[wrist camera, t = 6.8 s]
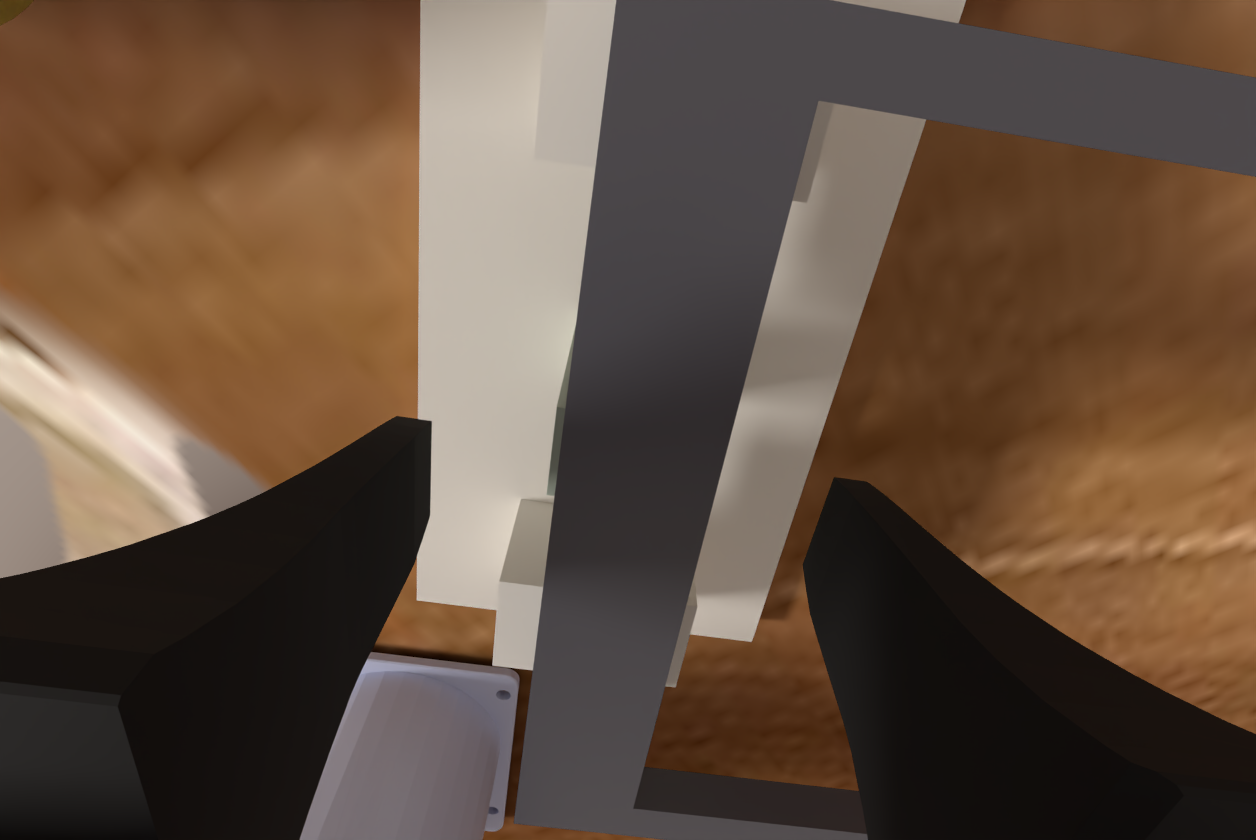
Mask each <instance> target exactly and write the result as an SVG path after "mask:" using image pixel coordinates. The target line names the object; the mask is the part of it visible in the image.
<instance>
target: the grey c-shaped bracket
mask: <svg viewBox="0 0 1256 840" xmlns="http://www.w3.org/2000/svg"><path fill="white" fill-rule="evenodd" d="M818 101H823V102H829V103H835V104H840V105H846V106H852V107H858V108H863V109H869V110H875V111H881V112H886V113H892V114H898V115H904V116H909V117H915V118H921V119H927V120H932V121H938V122H944V123H950V124H955V125H961V126H967V127H973V128H979V129H984V130H990V131H996V132H1002V133H1007V134H1013V135H1019V136H1025V137H1030V138H1036V139H1042V140H1048V141H1053V142H1059V143H1065V144H1071V145H1076V146H1082V147H1088V148H1094V149H1099V150H1105V151H1111V152H1117V153H1122V154H1128V155H1134V156H1140V157H1145V158H1151V159H1157V160H1163V161H1168V162H1174V163H1180V164H1186V165H1191V166H1197V167H1203V168H1209V169H1214V170H1220V171H1226V172H1232V173H1238V174H1243V175H1249V176H1255V177H1256V78H1254V77H1249V76H1243V75H1238V74H1233V73H1227V72H1222V71H1216V70H1211V69H1205V68H1200V67H1194V66H1189V65H1183V64H1178V63H1172V62H1167V61H1161V60H1156V59H1151V58H1145V57H1140V56H1134V55H1129V54H1123V53H1118V52H1112V51H1107V50H1101V49H1096V48H1090V47H1085V46H1079V45H1074V44H1069V43H1063V42H1058V41H1052V40H1047V39H1041V38H1036V37H1030V36H1025V35H1019V34H1014V33H1008V32H1003V31H997V30H992V29H986V28H981V27H976V26H970V25H965V24H959V23H954V22H948V21H943V20H937V19H932V18H926V17H921V16H915V15H910V14H904V13H899V12H894V11H888V10H883V9H877V8H872V7H866V6H861V5H855V4H850V3H844V2H839V1H833V0H616V7H615V15H614V23H613V31H612V39H611V47H610V55H609V63H608V71H607V79H606V87H605V95H604V103H603V111H602V119H601V127H600V135H599V143H598V151H597V159H596V167H595V175H594V183H593V191H592V199H591V207H590V215H589V223H588V231H587V239H586V247H585V256H584V264H583V272H582V280H581V288H580V296H579V304H578V312H577V320H576V328H575V336H574V344H573V352H572V360H571V368H570V376H569V384H568V392H567V400H566V408H565V416H564V424H563V432H562V440H561V448H560V456H559V464H558V472H557V480H556V488H555V496H554V504H553V512H552V520H551V528H550V536H549V544H548V553H547V561H546V569H545V577H544V585H543V593H542V601H541V609H540V617H539V625H538V633H537V641H536V649H535V657H534V665H533V673H532V681H531V689H530V697H529V705H528V713H527V721H526V729H525V737H524V745H523V753H522V761H521V769H520V777H519V785H518V793H517V801H516V809H515V817H514V824H523V825H533V826H542V827H551V828H561V829H570V830H580V831H589V832H598V833H608V834H617V835H627V836H636V837H645V838H655V839H664V840H868V837H867V831H866V826H865V820H864V814H863V808H862V803H861V798H860V793H859V791H853V790H844V789H835V788H826V787H818V786H809V785H800V784H791V783H782V782H773V781H764V780H755V779H747V778H738V777H729V776H720V775H711V774H702V773H693V772H685V771H676V770H667V769H658V768H649V767H644V765H645V761H646V758H647V754H648V750H649V746H650V742H651V739H652V735H653V731H654V727H655V723H656V720H657V716H658V712H659V708H660V704H661V700H662V697H663V693H664V689H665V685H666V681H667V678H668V674H669V670H670V666H671V662H672V658H673V655H674V651H675V647H676V643H677V639H678V636H679V632H680V628H681V624H682V620H683V616H684V613H685V609H686V605H687V601H688V597H689V594H690V590H691V586H692V582H693V578H694V574H695V571H696V567H697V563H698V559H699V555H700V552H701V548H702V544H703V540H704V536H705V532H706V529H707V525H708V521H709V517H710V513H711V510H712V506H713V502H714V498H715V494H716V491H717V487H718V483H719V479H720V475H721V471H722V468H723V464H724V460H725V456H726V452H727V449H728V445H729V441H730V437H731V433H732V429H733V426H734V422H735V418H736V414H737V410H738V407H739V403H740V399H741V395H742V391H743V387H744V384H745V380H746V376H747V372H748V368H749V365H750V361H751V357H752V353H753V349H754V345H755V342H756V338H757V334H758V330H759V326H760V323H761V319H762V315H763V311H764V307H765V303H766V300H767V296H768V292H769V288H770V284H771V281H772V277H773V273H774V269H775V265H776V261H777V258H778V254H779V250H780V246H781V242H782V239H783V235H784V231H785V227H786V223H787V220H788V216H789V212H790V208H791V204H792V200H793V197H794V193H795V189H796V185H797V181H798V178H799V174H800V170H801V166H802V162H803V158H804V155H805V151H806V147H807V143H808V139H809V136H810V132H811V128H812V124H813V120H814V116H815V113H816V109H817V105H818Z"/></svg>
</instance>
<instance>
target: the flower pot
mask: <svg viewBox="0 0 1256 840" xmlns="http://www.w3.org/2000/svg"><path fill="white" fill-rule="evenodd" d="M33 1H34V0H0V25H2V24H4V23H6V22H8V21H10V20H11V19H13V18H15V17H16V16H17V15H18V14H20V13H21V12H22V11H23V10H25V9H26V8H27V7H28V6H29V5H30V4H31V3H32V2H33Z"/></svg>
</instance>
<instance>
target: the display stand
mask: <svg viewBox="0 0 1256 840" xmlns="http://www.w3.org/2000/svg"><path fill="white" fill-rule="evenodd" d="M833 1H839V2H844V3H850V4H855V5H861V6H866V7H872V8H877V9H883V10H888V11H894V12H899V13H904V14H910V15H915V16H921V17H926V18H932V19H937V20H943V21H948V22H954V23H959V20H960V17H961V14H962V11H963V8H964V5H965V2H966V0H833ZM615 7H616V0H421V10H420V171H419V331H418V419H421V420H428V421H432V441H431V498H430V518H429V521H428V524H427V527H426V530H425V533H424V536H423V540H422V543H421V545H420V548H419V551H418V554H417V600H419V601H427V602H435V603H443V604H451V605H459V606H467V607H475V608H483V609H491V610H497V614H496V626H495V638H494V651H493V663H492V666H500V667H508V668H517V669H525V670H533V665H534V657H535V649H536V641H537V633H538V625H539V617H540V609H541V601H542V593H543V585H544V577H545V569H546V561H547V553H548V544H549V536H550V528H551V520H552V512H553V504H554V496H555V488H556V480H557V472H558V464H559V456H560V448H561V440H562V432H563V424H564V416H565V408H566V400H567V392H568V384H569V376H570V368H571V360H572V352H573V344H574V336H575V328H576V320H577V312H578V304H579V296H580V288H581V280H582V272H583V264H584V256H585V247H586V239H587V231H588V223H589V215H590V207H591V199H592V191H593V183H594V175H595V167H596V159H597V151H598V143H599V135H600V127H601V119H602V111H603V103H604V95H605V87H606V79H607V71H608V63H609V55H610V47H611V39H612V31H613V23H614V15H615ZM925 122H926V119H921V118H915V117H909V116H904V115H898V114H892V113H886V112H881V111H875V110H869V109H863V108H858V107H852V106H846V105H840V104H835V103H829V102H823V101H818V105H817V109H816V113H815V116H814V120H813V124H812V128H811V132H810V136H809V139H808V143H807V147H806V151H805V155H804V158H803V162H802V166H801V170H800V174H799V178H798V181H797V185H796V189H795V193H794V197H793V200H792V204H791V208H790V212H789V216H788V220H787V223H786V227H785V231H784V235H783V239H782V242H781V246H780V250H779V254H778V258H777V261H776V265H775V269H774V273H773V277H772V281H771V284H770V288H769V292H768V296H767V300H766V303H765V307H764V311H763V315H762V319H761V323H760V326H759V330H758V334H757V338H756V342H755V345H754V349H753V353H752V357H751V361H750V365H749V368H748V372H747V376H746V380H745V384H744V387H743V391H742V395H741V399H740V403H739V407H738V410H737V414H736V418H735V422H734V426H733V429H732V433H731V437H730V441H729V445H728V449H727V452H726V456H725V460H724V464H723V468H722V471H721V475H720V479H719V483H718V487H717V491H716V494H715V498H714V502H713V506H712V510H711V513H710V517H709V521H708V525H707V529H706V532H705V536H704V540H703V544H702V548H701V552H700V555H699V559H698V563H697V567H696V571H695V574H694V578H693V582H692V586H691V590H690V594H689V597H688V601H687V605H686V609H685V613H684V616H683V620H682V624H681V628H680V632H679V636H678V639H677V643H676V647H675V651H674V655H673V658H672V662H671V666H670V670H669V674H668V678H667V681H666V685H665V686H667V687H676V684H677V680H678V677H679V673H680V669H681V666H682V662H683V658H684V655H685V651H686V647H687V644H688V640H689V636H690V634H692V635H700V636H708V637H717V638H725V639H733V640H741V641H749V642H752V640H753V637H754V634H755V631H756V628H757V625H758V622H759V619H760V616H761V613H762V610H763V607H764V604H765V601H766V598H767V595H768V592H769V589H770V586H771V583H772V580H773V577H774V574H775V571H776V568H777V565H778V562H779V559H780V556H781V553H782V550H783V547H784V544H785V541H786V538H787V535H788V532H789V529H790V526H791V523H792V520H793V517H794V514H795V511H796V508H797V505H798V502H799V499H800V496H801V493H802V490H803V487H804V484H805V481H806V478H807V475H808V472H809V469H810V466H811V463H812V460H813V457H814V454H815V451H816V448H817V445H818V442H819V439H820V436H821V433H822V430H823V427H824V424H825V421H826V418H827V415H828V412H829V409H830V406H831V403H832V400H833V397H834V394H835V391H836V388H837V385H838V382H839V379H840V376H841V373H842V370H843V367H844V364H845V361H846V359H847V356H848V353H849V350H850V347H851V344H852V341H853V338H854V335H855V332H856V329H857V326H858V323H859V320H860V317H861V314H862V311H863V308H864V305H865V302H866V299H867V296H868V293H869V290H870V287H871V284H872V281H873V278H874V275H875V272H876V269H877V266H878V263H879V260H880V257H881V254H882V251H883V248H884V245H885V242H886V239H887V236H888V233H889V230H890V227H891V224H892V221H893V218H894V215H895V212H896V209H897V206H898V203H899V200H900V197H901V194H902V191H903V188H904V185H905V182H906V179H907V176H908V173H909V170H910V167H911V164H912V161H913V158H914V155H915V152H916V149H917V146H918V143H919V140H920V137H921V134H922V131H923V128H924V125H925Z"/></svg>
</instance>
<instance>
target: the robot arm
mask: <svg viewBox="0 0 1256 840" xmlns="http://www.w3.org/2000/svg"><path fill="white" fill-rule="evenodd" d="M431 441H432V421H428V420H421V419H413V418H406V417H399V416H396V417H394V418H392V419H391V420H389V421H387V422H385V423H384V424H382V425H380V426H379V427H377V428H376V429H374V430H372V431H371V432H369V433H368V434H366V435H364V436H363V437H361V438H360V439H358V440H356V441H355V442H353V443H351V444H350V445H348V446H346V447H345V448H343V449H341V450H340V451H338V452H336V453H335V454H333V455H332V456H330V457H328V458H327V459H325V460H323V461H322V462H320V463H318V464H316V465H315V466H313V467H311V468H309V469H307V470H305V471H303V472H301V473H300V474H298V475H296V476H294V477H292V478H290V479H288V480H287V481H285V482H283V483H281V484H279V485H277V486H275V487H273V488H272V489H270V490H268V491H266V492H264V493H262V494H260V495H257V496H255V497H253V498H251V499H249V500H247V501H245V502H242V503H240V504H238V505H236V506H233V507H231V508H229V509H226V510H224V511H221V512H219V513H217V514H214V515H212V516H210V517H207V518H205V519H202V520H200V521H197V522H194V523H192V524H189V525H186V526H183V527H180V528H177V529H174V530H171V531H169V532H166V533H163V534H160V535H157V536H154V537H151V538H148V539H146V540H143V541H140V542H137V543H134V544H131V545H128V546H125V547H121V548H118V549H115V550H111V551H108V552H104V553H101V554H97V555H94V556H90V557H87V558H83V559H79V560H75V561H72V562H68V563H64V564H60V565H56V566H52V567H49V568H45V569H40V570H36V571H32V572H28V573H24V574H20V575H14V576H10V577H5V578H0V840H483V835H484V831H497V830H499V829H501V828H502V826H503V823H504V816H505V807H506V798H507V789H508V780H509V771H510V762H511V753H512V744H513V735H514V726H515V717H516V708H517V699H518V690H519V681H520V678H519V675H518V674H517V672H515V671H514V670H512V669H508V668H502V667H493V666H485V665H476V664H468V663H460V662H451V661H443V660H435V659H426V658H418V657H409V656H401V655H393V654H384V653H376V652H371V651H372V648H373V646H374V644H375V642H376V640H377V638H378V636H379V634H380V632H381V630H382V628H383V626H384V624H385V622H386V620H387V618H388V616H389V614H390V612H391V610H392V608H393V606H394V604H395V602H396V600H397V598H398V596H399V594H400V592H401V590H402V588H403V586H404V584H405V582H406V580H407V578H408V576H409V574H410V571H411V569H412V567H413V565H414V563H415V560H416V557H417V554H418V551H419V548H420V545H421V543H422V540H423V536H424V533H425V530H426V527H427V524H428V521H429V518H430V498H431ZM803 570H804V577H805V584H806V592H807V598H808V603H809V609H810V615H811V618H812V622H813V625H814V628H815V632H816V635H817V638H818V642H819V645H820V648H821V652H822V655H823V658H824V661H825V665H826V668H827V671H828V674H829V677H830V681H831V684H832V687H833V690H834V693H835V697H836V700H837V703H838V706H839V710H840V713H841V716H842V719H843V722H844V726H845V729H846V733H847V737H848V741H849V745H850V748H851V752H852V757H853V762H854V767H855V772H856V777H857V783H858V788H859V793H860V798H861V803H862V808H863V814H864V820H865V826H866V831H867V837H868V840H1256V734H1254V733H1252V732H1249V731H1247V730H1245V729H1243V728H1240V727H1238V726H1236V725H1233V724H1231V723H1229V722H1227V721H1224V720H1222V719H1220V718H1218V717H1216V716H1214V715H1212V714H1210V713H1208V712H1206V711H1204V710H1202V709H1200V708H1198V707H1196V706H1194V705H1192V704H1190V703H1187V702H1185V701H1183V700H1181V699H1179V698H1177V697H1175V696H1173V695H1171V694H1169V693H1167V692H1165V691H1163V690H1161V689H1160V688H1158V687H1156V686H1154V685H1152V684H1150V683H1148V682H1146V681H1144V680H1143V679H1141V678H1139V677H1137V676H1135V675H1133V674H1131V673H1130V672H1128V671H1126V670H1124V669H1123V668H1121V667H1119V666H1117V665H1116V664H1114V663H1112V662H1110V661H1109V660H1107V659H1105V658H1103V657H1102V656H1100V655H1098V654H1096V653H1095V652H1093V651H1091V650H1089V649H1088V648H1086V647H1084V646H1083V645H1081V644H1079V643H1078V642H1076V641H1075V640H1073V639H1071V638H1070V637H1068V636H1066V635H1065V634H1063V633H1062V632H1060V631H1059V630H1057V629H1056V628H1054V627H1053V626H1051V625H1050V624H1048V623H1047V622H1045V621H1044V620H1042V619H1041V618H1039V617H1038V616H1036V615H1035V614H1033V613H1032V612H1030V611H1029V610H1027V609H1026V608H1024V607H1023V606H1021V605H1020V604H1018V603H1017V602H1016V601H1014V600H1013V599H1011V598H1010V597H1009V596H1007V595H1006V594H1005V593H1003V592H1002V591H1001V590H999V589H998V588H997V587H995V586H994V585H993V584H991V583H990V582H989V581H987V580H986V579H985V578H984V577H982V576H981V575H980V574H978V573H977V572H976V571H974V570H973V569H972V568H971V567H969V566H968V565H967V564H966V563H964V562H963V561H962V560H961V559H960V558H958V557H957V556H956V555H955V554H953V553H952V552H951V551H950V550H949V549H947V548H946V547H945V546H944V545H943V544H941V543H940V542H939V541H938V540H937V539H936V538H934V537H933V536H932V535H931V534H930V533H929V532H927V531H926V530H925V529H924V528H923V527H922V526H920V525H919V524H918V523H917V522H916V521H915V520H913V519H912V518H911V517H910V516H909V515H908V514H907V513H905V512H904V511H903V510H902V509H901V508H900V507H898V506H897V505H896V504H895V503H894V502H892V501H891V500H890V499H889V498H888V497H886V496H885V495H884V494H883V493H881V492H880V491H879V490H878V489H876V488H875V487H874V486H872V485H871V484H869V483H868V482H864V481H857V480H850V479H843V478H836V477H834V479H833V482H832V484H831V487H830V490H829V493H828V496H827V498H826V501H825V504H824V507H823V510H822V512H821V515H820V518H819V521H818V524H817V526H816V529H815V532H814V535H813V538H812V540H811V543H810V546H809V549H808V552H807V554H806V557H805V560H804V563H803ZM503 690H505V691H503Z"/></svg>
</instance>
